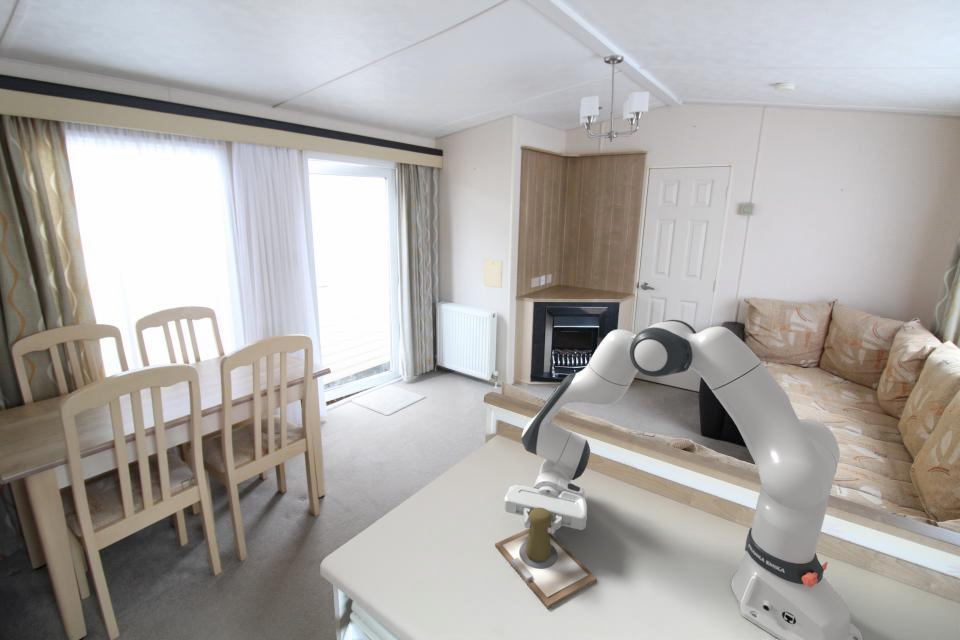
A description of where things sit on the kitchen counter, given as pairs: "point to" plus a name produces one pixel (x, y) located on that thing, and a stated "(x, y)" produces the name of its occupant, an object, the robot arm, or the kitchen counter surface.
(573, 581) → the clipboard
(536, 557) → the cork
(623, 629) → the kitchen counter surface
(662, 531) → the kitchen counter surface
